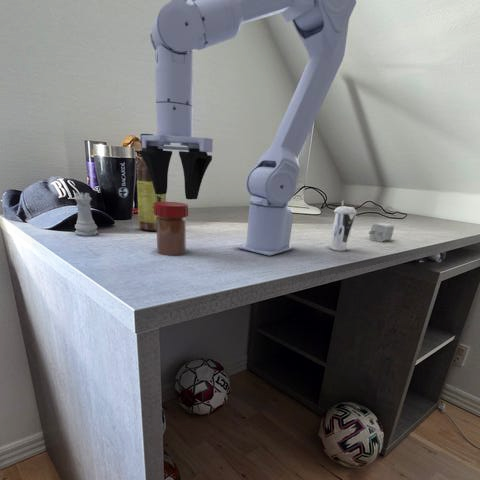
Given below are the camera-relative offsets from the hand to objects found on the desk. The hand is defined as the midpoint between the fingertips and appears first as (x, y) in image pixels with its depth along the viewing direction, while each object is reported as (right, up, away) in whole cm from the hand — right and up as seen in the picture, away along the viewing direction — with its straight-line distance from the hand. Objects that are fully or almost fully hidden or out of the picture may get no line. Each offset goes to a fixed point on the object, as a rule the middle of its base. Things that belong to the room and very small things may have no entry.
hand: (175, 196), depth 60 cm
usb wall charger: (+47, -1, +30) cm, 56 cm away
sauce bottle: (-9, 0, +22) cm, 23 cm away
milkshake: (+33, -6, +17) cm, 37 cm away
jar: (-1, -9, +4) cm, 10 cm away
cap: (-1, -2, 0) cm, 2 cm away
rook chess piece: (-21, -4, +12) cm, 24 cm away
